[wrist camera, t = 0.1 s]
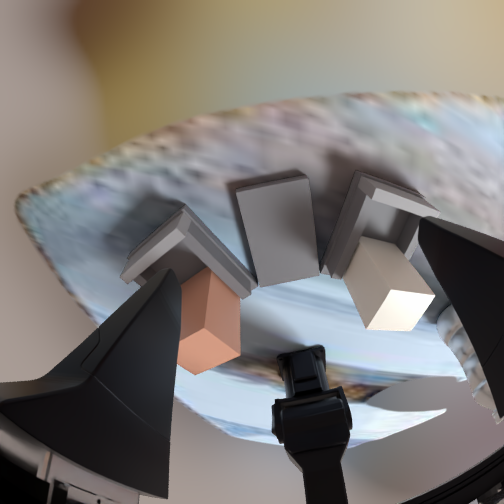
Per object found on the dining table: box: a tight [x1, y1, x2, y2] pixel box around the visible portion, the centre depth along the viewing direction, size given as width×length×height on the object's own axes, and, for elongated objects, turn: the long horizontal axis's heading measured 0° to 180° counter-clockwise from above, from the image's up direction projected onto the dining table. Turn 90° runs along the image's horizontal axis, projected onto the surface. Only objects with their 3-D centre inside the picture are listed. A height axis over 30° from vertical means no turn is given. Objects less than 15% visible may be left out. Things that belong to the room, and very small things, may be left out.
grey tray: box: [120, 170, 441, 300], centre depth 24 cm, size 13×30×4 cm, turn 102°
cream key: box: [342, 236, 435, 331], centre depth 22 cm, size 4×5×8 cm
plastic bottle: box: [437, 304, 504, 424], centre depth 25 cm, size 6×7×20 cm
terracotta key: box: [177, 266, 241, 375], centre depth 23 cm, size 4×5×8 cm
